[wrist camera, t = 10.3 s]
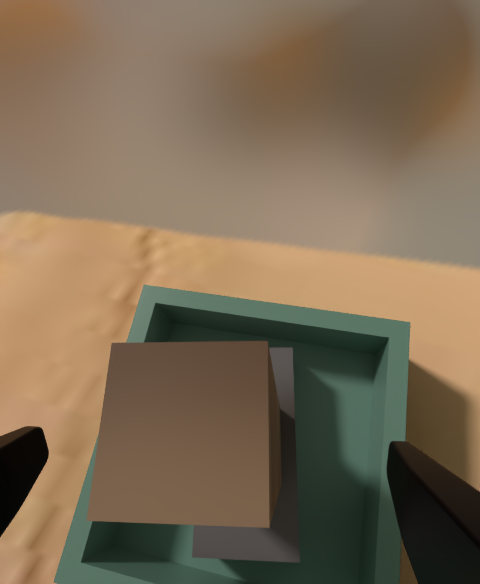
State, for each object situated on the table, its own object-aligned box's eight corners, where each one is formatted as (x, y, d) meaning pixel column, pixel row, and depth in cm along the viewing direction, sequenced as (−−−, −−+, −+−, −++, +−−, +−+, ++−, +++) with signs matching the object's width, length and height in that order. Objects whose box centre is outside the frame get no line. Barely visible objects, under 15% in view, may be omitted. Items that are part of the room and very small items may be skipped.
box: (388, 346, 20) (410, 322, 17) (371, 631, 16) (395, 682, 12) (167, 312, 23) (144, 284, 19) (100, 556, 18) (53, 582, 15)
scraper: (298, 548, 17) (322, 780, 5) (204, 544, 17) (10, 747, 5) (292, 359, 20) (297, 211, 8) (212, 360, 20) (101, 220, 8)
